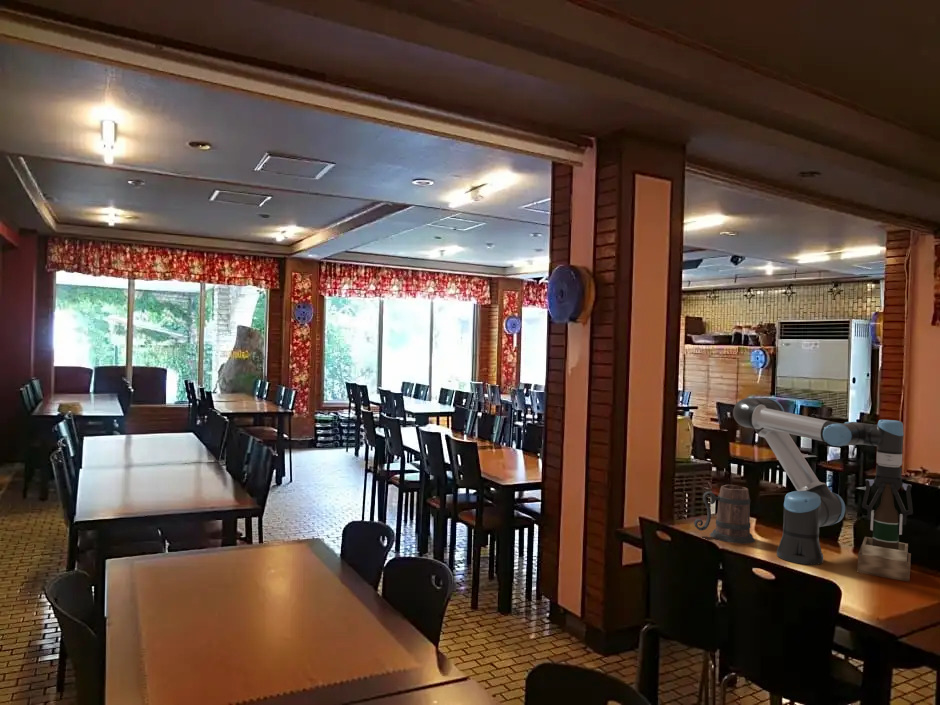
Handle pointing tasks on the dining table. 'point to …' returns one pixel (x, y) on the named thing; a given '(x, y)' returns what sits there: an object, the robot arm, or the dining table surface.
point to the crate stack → (884, 561)
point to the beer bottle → (886, 522)
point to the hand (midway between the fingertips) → (885, 531)
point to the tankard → (730, 515)
